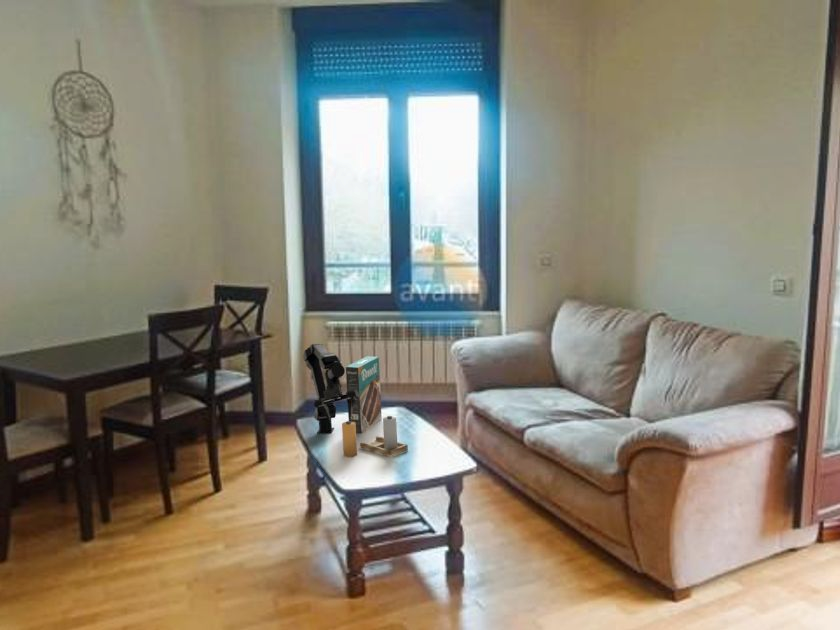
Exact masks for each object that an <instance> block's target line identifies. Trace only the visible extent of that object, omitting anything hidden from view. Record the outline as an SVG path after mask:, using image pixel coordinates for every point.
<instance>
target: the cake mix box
mask: <svg viewBox="0 0 840 630" xmlns="http://www.w3.org/2000/svg"><path fill="white" fill-rule="evenodd" d="M380 371H381V370H380V357H379V356H371V355H369V356H367V355H366V356H365V357H363V358H361V359H359V360H357V361H355V362H352V363H351V364H349V365H347V366H345V378H346V379H345V381H346V392H349V391H352V390H355V391H357V392H358V393H359V398H356V399H357V401H355V403H354V406H353V411H352V416H351V417H350V415H349V409H348V408H347V413H348V414H347V416H348V421H351V422H355V424H356V434H360V435H361V434H363V433H366V431H367V430H369V429H371V428H372V427H373V426H374V425H375V424H377V423H378V422H380V421H382V420H383V418H382V398H381V396H382V395H381V375H380Z"/></svg>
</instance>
